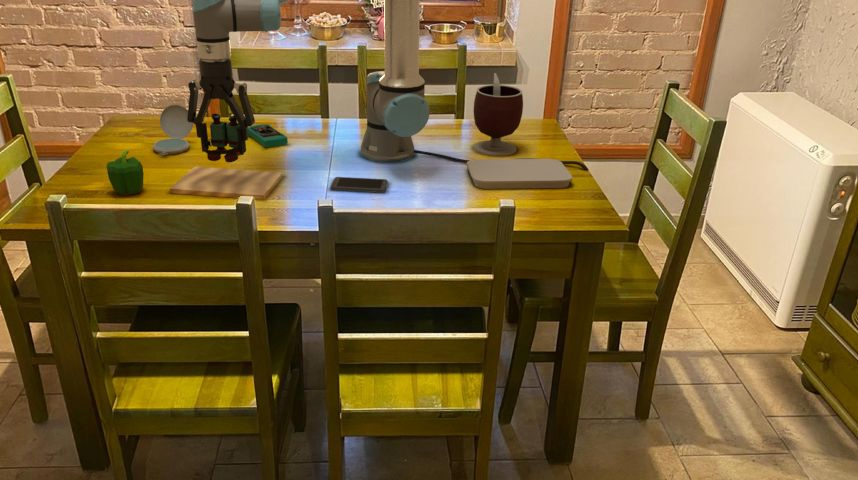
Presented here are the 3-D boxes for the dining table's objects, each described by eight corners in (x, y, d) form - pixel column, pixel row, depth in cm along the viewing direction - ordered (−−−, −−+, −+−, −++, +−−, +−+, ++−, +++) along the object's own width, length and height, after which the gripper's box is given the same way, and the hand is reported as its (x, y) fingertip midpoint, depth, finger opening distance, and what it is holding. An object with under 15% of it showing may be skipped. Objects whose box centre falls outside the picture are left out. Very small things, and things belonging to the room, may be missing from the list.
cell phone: (335, 179, 191) (334, 176, 190) (388, 182, 190) (388, 179, 189) (329, 189, 184) (329, 187, 184) (384, 192, 183) (384, 189, 183)
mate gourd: (523, 156, 209) (530, 86, 199) (474, 157, 208) (479, 86, 199) (512, 139, 223) (518, 72, 213) (467, 139, 222) (471, 72, 212)
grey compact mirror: (193, 104, 211) (175, 120, 197) (197, 141, 216) (180, 158, 203) (159, 103, 211) (138, 118, 198) (164, 140, 216) (145, 157, 203)
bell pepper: (131, 200, 177) (124, 160, 172) (104, 194, 179) (96, 155, 175) (154, 188, 184) (148, 150, 179) (128, 183, 186) (121, 145, 181)
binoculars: (194, 125, 175) (211, 110, 183) (201, 166, 181) (217, 149, 189) (229, 128, 173) (245, 112, 181) (235, 169, 179) (250, 152, 187)
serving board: (282, 176, 192) (282, 172, 192) (264, 200, 178) (263, 195, 178) (195, 170, 195) (194, 166, 194) (170, 193, 181) (169, 188, 181)
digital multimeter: (269, 131, 225) (268, 122, 224) (288, 145, 214) (288, 135, 213) (246, 135, 222) (245, 125, 221) (265, 149, 211) (264, 139, 210)
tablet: (464, 167, 201) (465, 159, 200) (557, 166, 203) (558, 158, 202) (474, 189, 187) (474, 181, 186) (574, 188, 189) (575, 180, 188)
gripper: (163, 59, 170) (176, 153, 180) (254, 64, 167) (261, 159, 178) (177, 53, 176) (188, 143, 187) (264, 57, 174) (271, 149, 184)
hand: (224, 151), depth 182 cm, fingers closed on binoculars, 9 cm apart
